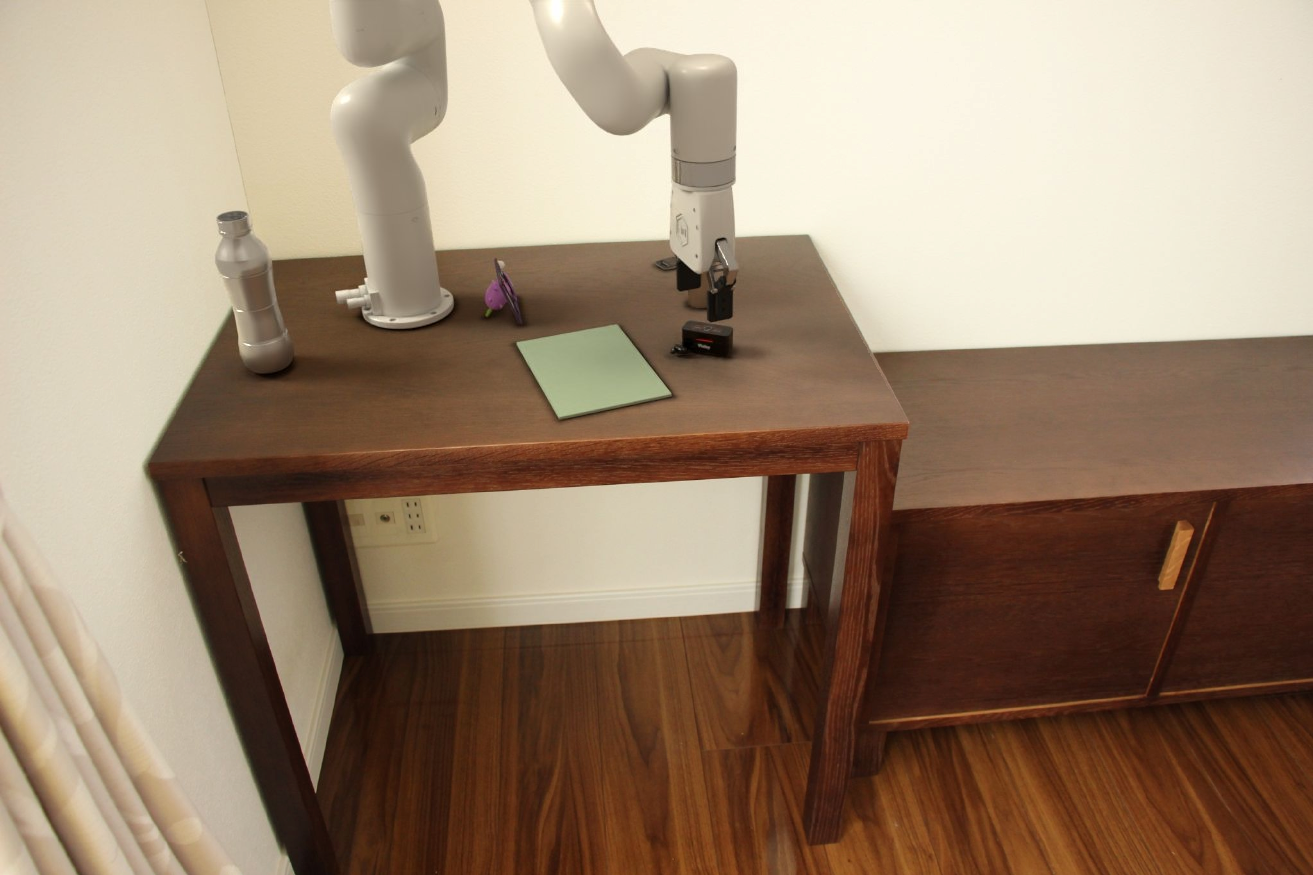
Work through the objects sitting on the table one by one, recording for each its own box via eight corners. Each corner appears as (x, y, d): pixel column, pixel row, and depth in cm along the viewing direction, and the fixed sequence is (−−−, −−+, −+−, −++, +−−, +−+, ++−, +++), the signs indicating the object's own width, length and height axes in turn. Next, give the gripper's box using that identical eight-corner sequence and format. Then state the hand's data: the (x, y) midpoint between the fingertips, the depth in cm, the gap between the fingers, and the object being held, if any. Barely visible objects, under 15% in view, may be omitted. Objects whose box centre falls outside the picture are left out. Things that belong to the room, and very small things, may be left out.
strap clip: (699, 252, 155) (699, 226, 153) (710, 258, 153) (710, 232, 151) (653, 264, 151) (653, 238, 149) (664, 271, 149) (664, 244, 147)
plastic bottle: (248, 384, 122) (206, 230, 111) (240, 361, 127) (199, 212, 116) (302, 372, 124) (266, 220, 113) (292, 350, 129) (256, 202, 118)
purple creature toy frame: (506, 281, 130) (501, 255, 138) (470, 297, 131) (467, 270, 138) (527, 322, 134) (521, 295, 142) (492, 337, 134) (488, 309, 142)
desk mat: (559, 420, 114) (559, 417, 114) (516, 344, 130) (516, 342, 130) (671, 396, 118) (671, 393, 118) (617, 326, 134) (617, 323, 134)
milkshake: (719, 312, 137) (720, 244, 132) (681, 309, 138) (681, 242, 133) (723, 298, 141) (725, 232, 135) (686, 295, 142) (687, 229, 136)
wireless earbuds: (681, 341, 130) (681, 318, 128) (733, 349, 128) (734, 327, 126) (669, 357, 126) (669, 334, 125) (722, 366, 124) (723, 343, 123)
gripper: (647, 153, 120) (651, 283, 129) (703, 196, 106) (703, 338, 116) (703, 145, 122) (704, 273, 131) (766, 186, 108) (761, 326, 118)
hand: (703, 303), depth 124 cm, fingers open, 9 cm apart
